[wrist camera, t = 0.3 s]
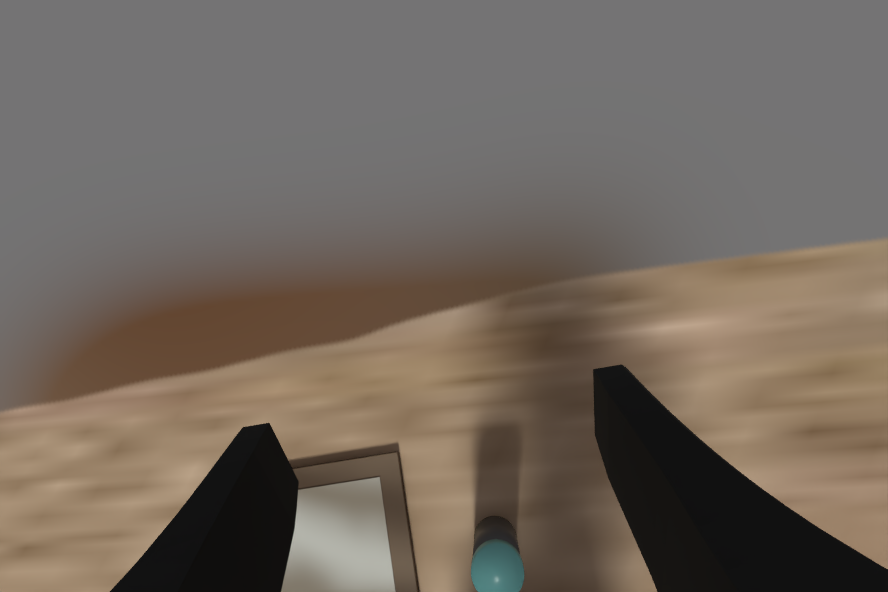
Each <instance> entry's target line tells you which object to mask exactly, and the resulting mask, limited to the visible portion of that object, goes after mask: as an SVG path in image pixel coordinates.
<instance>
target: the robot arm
mask: <svg viewBox="0 0 888 592" xmlns="http://www.w3.org/2000/svg"><path fill="white" fill-rule="evenodd" d="M593 378H594V417H595V436H596V440H597V443H598V446H599V450H600V453H601V456H602V459H603V462H604V466H605V469H606V472H607V475H608V478H609V480H610V483H611V485H612V487H613V490H614V492H615V494H616V497H617V499H618V501H619V504H620V506H621V508H622V510H623V513H624V515H625V517H626V520H627V522H628V524H629V526H630V529H631V531H632V533H633V535H634V538H635V540H636V542H637V544H638V547H639V549H640V551H641V554H642V556H643V558H644V560H645V563H646V565H647V567H648V569H649V572H650V574H651V576H652V579H653V581H654V584H655V586H656V589H657V591H658V592H888V569H886V568H884V567H882V566H881V565H879V564H877V563H876V562H874V561H872V560H871V559H869V558H867V557H866V556H864V555H862V554H861V553H859V552H857V551H856V550H854V549H853V548H851V547H849V546H848V545H846V544H844V543H843V542H841V541H839V540H838V539H836V538H834V537H833V536H831V535H830V534H828V533H826V532H825V531H823V530H821V529H820V528H818V527H817V526H815V525H814V524H812V523H811V522H809V521H808V520H806V519H805V518H803V517H802V516H800V515H799V514H797V513H796V512H794V511H793V510H791V509H790V508H788V507H787V506H785V505H784V504H783V503H781V502H780V501H778V500H777V499H776V498H774V497H773V496H771V495H770V494H769V493H767V492H766V491H764V490H763V489H762V488H760V487H759V486H758V485H756V484H755V483H754V482H752V481H751V480H750V479H748V478H747V477H746V476H744V475H743V474H742V473H741V472H739V471H738V470H737V469H735V468H734V467H733V466H732V465H730V464H729V463H728V462H727V461H726V460H724V459H723V458H722V457H721V456H719V455H718V454H717V453H716V452H714V451H713V450H712V449H711V448H710V447H709V446H707V445H706V444H705V443H704V442H703V441H702V440H700V439H699V438H698V437H697V436H696V435H695V434H694V433H693V432H692V431H690V430H689V429H688V428H687V427H686V426H685V425H684V424H683V423H682V422H680V421H679V420H678V419H677V418H676V417H675V416H674V415H673V414H672V413H671V412H670V411H669V410H667V409H666V408H665V407H664V406H663V405H662V404H661V403H660V402H659V401H658V400H657V399H656V398H655V397H654V396H653V395H652V394H651V393H650V392H649V391H648V390H647V389H646V388H645V387H644V386H643V385H642V384H641V383H640V382H639V381H638V380H637V379H636V377H635V376H634V375H633V374H632V373H631V372H630V371H629V370H628V369H627V368H626V367H624V366H623V365H616V366H610V367H604V368H598V369H593ZM298 486H299V481H298V479H297V477H296V475H295V473H294V471H293V469H292V467H291V465H290V463H289V461H288V459H287V457H286V455H285V453H284V451H283V449H282V447H281V445H280V443H279V441H278V439H277V437H276V435H275V433H274V431H273V429H272V427H271V425H270V423H266V424H260V425H254V426H248V427H243V428H242V429H241V430H240V432H239V433H238V434H237V436H236V437H235V438H234V439H233V441H232V442H231V443H230V445H229V446H228V447H227V449H226V450H225V452H224V453H223V454H222V456H221V457H220V458H219V460H218V461H217V462H216V464H215V465H214V466H213V468H212V469H211V470H210V472H209V473H208V474H207V476H206V477H205V478H204V480H203V481H202V482H201V484H200V485H199V486H198V488H197V489H196V490H195V491H194V493H193V494H192V495H191V497H190V498H189V499H188V501H187V502H186V503H185V504H184V506H183V507H182V508H181V510H180V511H179V512H178V514H177V515H176V516H175V517H174V518H173V520H172V521H171V522H170V523H169V524H168V526H167V527H166V528H165V529H164V530H163V532H162V533H161V534H160V535H159V536H158V538H157V539H156V540H155V541H154V542H153V544H152V545H151V546H150V547H149V548H148V550H147V551H146V552H145V553H144V554H143V556H142V557H141V558H140V559H139V560H138V561H137V563H136V564H135V565H134V566H133V567H132V568H131V569H130V570H129V571H128V573H127V574H126V575H125V576H124V577H123V578H122V579H121V580H120V581H119V582H118V583H117V585H116V586H115V587H114V588H113V589H112V590H111V591H110V592H281V590H282V585H283V581H284V576H285V572H286V567H287V562H288V558H289V553H290V548H291V543H292V539H293V534H294V529H295V521H296V511H297V499H298Z"/></svg>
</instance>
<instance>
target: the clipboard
mask: <svg viewBox="0 0 888 592" xmlns="http://www.w3.org/2000/svg"><path fill="white" fill-rule="evenodd" d="M292 469H293V471H294V473H295V475H296V477H297V479H298V481H299V486H298V499H297V511H296V521H295V529H294V534H293V539H292V543H291V548H290V553H289V558H288V562H287V567H286V572H285V576H284V581H283V585H282V590H281V592H419V590H418V583H417V576H416V569H415V562H414V556H413V549H412V542H411V535H410V528H409V521H408V514H407V507H406V501H405V494H404V487H403V480H402V473H401V466H400V459H399V452H391V453H385V454H379V455H373V456H366V457H360V458H354V459H348V460H342V461H335V462H329V463H323V464H317V465H310V466H304V467H298V468H292Z"/></svg>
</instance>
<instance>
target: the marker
mask: <svg viewBox="0 0 888 592" xmlns="http://www.w3.org/2000/svg"><path fill="white" fill-rule="evenodd" d="M471 577H472V581H473V584H474V586H475V588H476V590H477V591H478V592H519V591H520V589H521V587H522V585H523V581H524V568H523V563H522V559H521V556H520V552H519V547H518V542H517V537H516V533H515V530H514V528H513V526H512V525H511V523H510V522H509V521H507V520H506V519H504V518H502V517H499V516H490V517H487V518H485V519H483V520H482V521H481V522H480V523H479V524H478V526H477V528H476V530H475V534H474V548H473V558H472V566H471Z"/></svg>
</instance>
